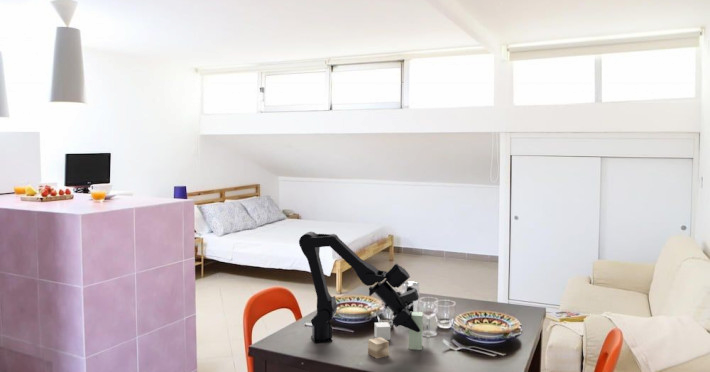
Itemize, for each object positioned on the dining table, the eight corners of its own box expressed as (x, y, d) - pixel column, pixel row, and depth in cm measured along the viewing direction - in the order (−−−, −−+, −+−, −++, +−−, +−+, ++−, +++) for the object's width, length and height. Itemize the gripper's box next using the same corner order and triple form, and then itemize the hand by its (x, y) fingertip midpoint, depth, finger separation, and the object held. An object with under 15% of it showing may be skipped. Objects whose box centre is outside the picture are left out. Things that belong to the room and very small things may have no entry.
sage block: (408, 348, 193) (409, 315, 192) (409, 344, 198) (410, 311, 197) (421, 349, 192) (422, 316, 191) (422, 345, 197) (423, 312, 196)
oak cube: (376, 358, 184) (376, 344, 184) (368, 353, 188) (368, 339, 188) (388, 355, 187) (388, 341, 187) (380, 351, 191) (380, 337, 191)
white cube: (376, 340, 201) (376, 327, 201) (374, 335, 206) (374, 322, 206) (390, 340, 202) (390, 326, 202) (387, 335, 207) (387, 322, 206)
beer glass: (417, 323, 221) (418, 286, 219) (400, 322, 222) (401, 285, 221) (419, 317, 227) (420, 282, 226) (402, 316, 229) (403, 280, 228)
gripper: (403, 288, 185) (435, 322, 184) (407, 275, 203) (437, 306, 202) (379, 309, 187) (411, 344, 186) (386, 294, 205) (415, 326, 204)
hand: (419, 329), depth 194 cm, fingers closed on sage block, 4 cm apart
